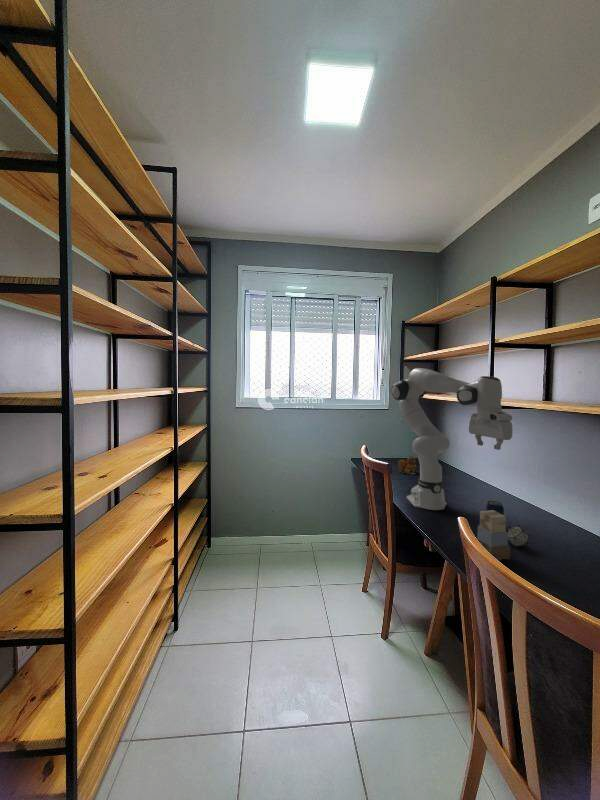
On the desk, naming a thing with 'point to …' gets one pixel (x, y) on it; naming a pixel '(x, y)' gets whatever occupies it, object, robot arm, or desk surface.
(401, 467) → the stuffed squirrel
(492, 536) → the slate block
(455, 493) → the desk surface
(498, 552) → the walnut plinth
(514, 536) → the game die
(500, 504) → the soda can
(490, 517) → the maple block
